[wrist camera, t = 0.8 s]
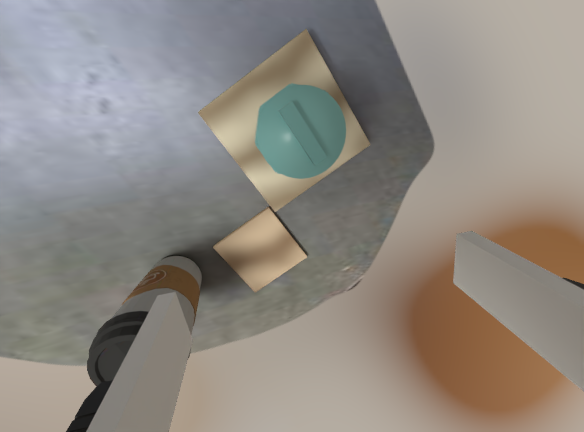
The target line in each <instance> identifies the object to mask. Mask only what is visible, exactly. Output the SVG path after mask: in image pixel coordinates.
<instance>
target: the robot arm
mask: <svg viewBox="0 0 584 432" xmlns="http://www.w3.org/2000/svg"><path fill="white" fill-rule="evenodd" d="M453 283H454V284H455V285H457V286H458V287H459V288H460V289H461V290H463V291H464V292H465V293H466V294H467V295H468V296H470V297H471V298H472V299H473V300H474V301H476V302H477V303H478V304H479V305H480V306H482V307H483V308H484V309H485V310H487V311H488V312H489V313H490V314H491V315H493V316H494V317H495V318H496V319H497V320H499V321H500V322H501V323H502V324H503V325H505V326H506V327H507V328H508V329H509V330H511V331H512V332H513V333H514V334H515V335H517V336H518V337H519V338H520V339H521V340H523V341H524V342H525V343H526V344H528V345H529V346H530V347H531V348H532V349H533V350H535V351H536V352H537V353H538V354H539V355H541V356H542V357H543V358H544V359H545V360H547V361H548V362H549V363H550V364H551V365H553V366H554V367H555V368H556V369H557V370H559V371H560V372H561V373H562V374H563V375H565V376H566V377H567V378H568V379H570V380H571V381H572V382H573V383H574V384H576V385H577V386H578V387H579V388H580V389H582V390H583V391H584V284H581V283H579V282H575V281H572V280H569V279H566V278H561V277H559V276H557V275H555V274H553V273H551V272H549V271H547V270H545V269H543V268H541V267H540V266H538V265H536V264H534V263H532V262H530V261H528V260H526V259H524V258H522V257H520V256H519V255H517V254H515V253H513V252H511V251H509V250H507V249H505V248H503V247H501V246H499V245H498V244H496V243H493V242H492V241H490V240H488V239H486V238H484V237H482V236H481V235H478V234H477V233H475V232H473V231H469V232H464V233H459V234H457V236H456V251H455V266H454V281H453ZM192 341H193V339H192V336H191V334H190V331H189V328H188V325H187V323H186V320H185V317H184V314H183V311H182V309H181V306H180V303H179V300H178V298H177V295H176V292H172V293H167V294H162V295H158V296H157V298H156V300H155V301H154V303H153V305H152V307H151V309H150V311H149V313H148V315H147V317H146V319H145V320H144V322H143V324H142V326H141V328H140V330H139V332H138V334H137V336H136V338H135V340H134V341H133V343H132V345H131V347H130V349H129V351H128V353H127V355H126V357H125V359H124V361H123V362H122V364H121V366H120V368H119V370H118V372H117V374H116V376H115V378H114V380H111V381H106V382H102V383H100V384H99V385H98V386H97V387H96V388H95V389H94V390H93V391H92V392H91V394H90V395H89V396H88V397H87V398H86V399H85V400H84V402H83V404H82V406H81V407H80V409H79V411H78V413H77V414H76V416H75V420H73V421H72V423H71V424H70V426H69V428H68V429H67V431H66V432H169V429H170V425H171V421H172V417H173V413H174V410H175V406H176V402H177V398H178V394H179V391H180V387H181V383H182V379H183V376H184V372H185V368H186V364H187V360H188V357H189V353H190V349H191V345H192Z"/></svg>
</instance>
